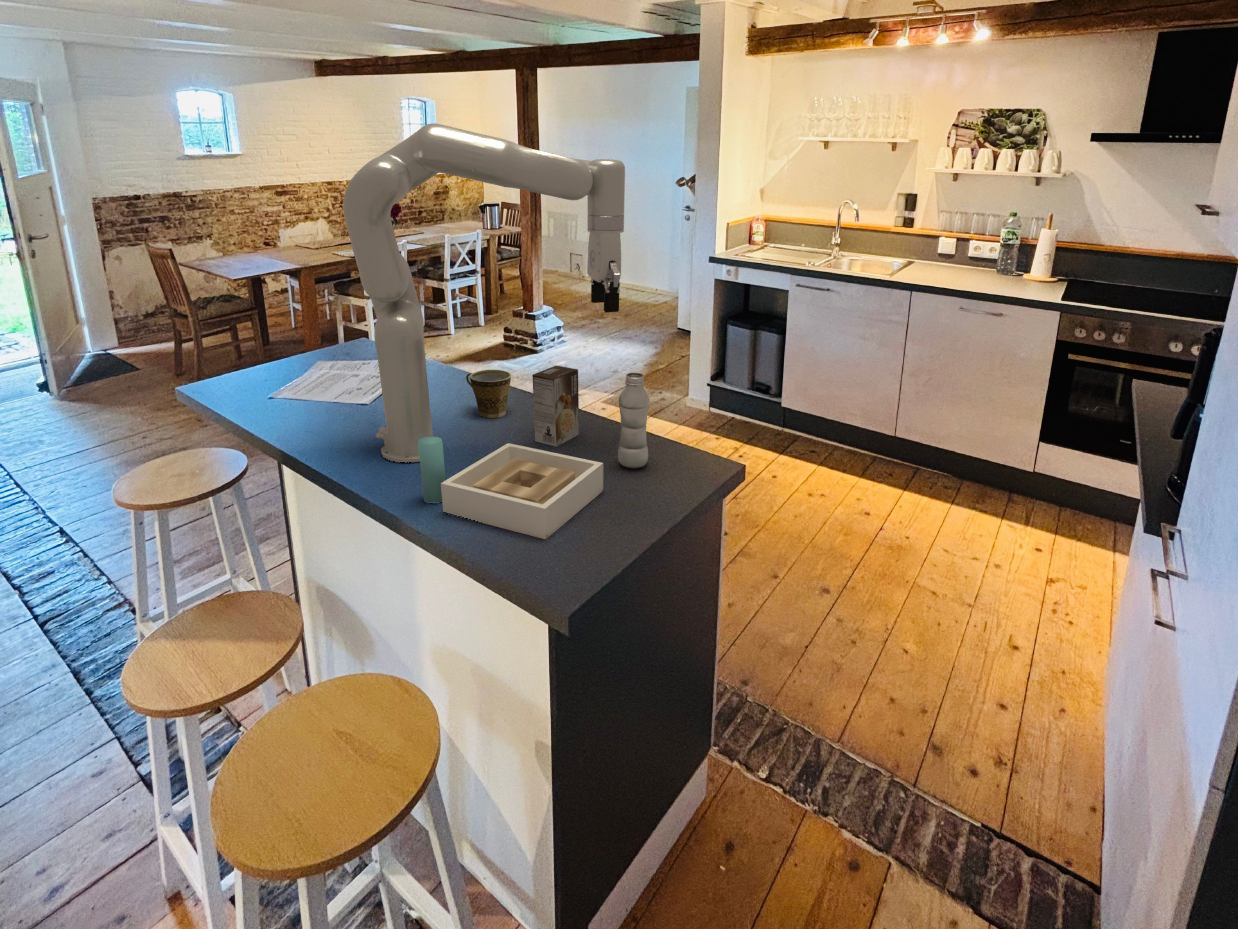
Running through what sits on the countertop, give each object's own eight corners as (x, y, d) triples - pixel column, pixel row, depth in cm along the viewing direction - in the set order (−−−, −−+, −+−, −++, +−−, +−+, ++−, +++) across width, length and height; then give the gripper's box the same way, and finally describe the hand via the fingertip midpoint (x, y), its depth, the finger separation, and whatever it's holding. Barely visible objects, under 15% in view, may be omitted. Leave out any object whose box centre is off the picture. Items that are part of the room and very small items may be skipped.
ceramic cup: (520, 412, 192) (519, 373, 188) (494, 423, 184) (492, 384, 180) (481, 402, 198) (479, 365, 194) (454, 413, 190) (451, 374, 186)
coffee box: (557, 429, 181) (556, 364, 174) (579, 435, 178) (579, 368, 171) (533, 441, 174) (531, 373, 167) (556, 447, 171) (555, 378, 164)
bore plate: (473, 504, 142) (472, 485, 141) (514, 477, 154) (513, 458, 152) (537, 520, 137) (537, 500, 135) (575, 490, 149) (575, 472, 147)
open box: (443, 512, 141) (440, 483, 139) (509, 469, 159) (507, 443, 157) (545, 539, 132) (545, 508, 130) (603, 490, 151) (603, 463, 148)
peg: (418, 500, 145) (412, 442, 141) (433, 492, 149) (428, 434, 144) (437, 505, 144) (431, 446, 139) (451, 496, 147) (446, 438, 142)
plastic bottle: (626, 474, 158) (628, 381, 150) (612, 462, 164) (613, 372, 156) (653, 468, 161) (657, 377, 153) (638, 457, 166) (640, 368, 158)
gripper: (577, 219, 163) (577, 299, 170) (599, 229, 148) (599, 316, 155) (610, 219, 165) (609, 298, 172) (636, 228, 150) (634, 314, 157)
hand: (604, 306), depth 164 cm, fingers open, 9 cm apart
